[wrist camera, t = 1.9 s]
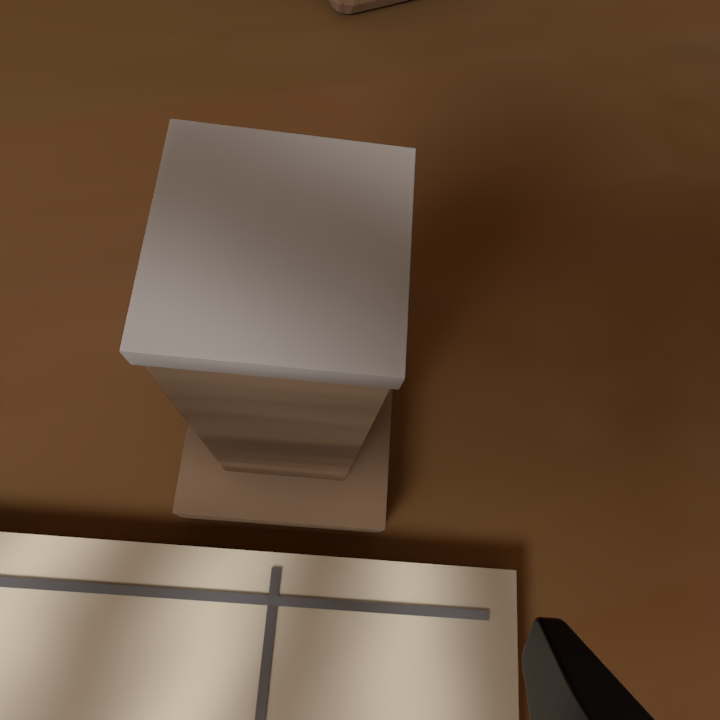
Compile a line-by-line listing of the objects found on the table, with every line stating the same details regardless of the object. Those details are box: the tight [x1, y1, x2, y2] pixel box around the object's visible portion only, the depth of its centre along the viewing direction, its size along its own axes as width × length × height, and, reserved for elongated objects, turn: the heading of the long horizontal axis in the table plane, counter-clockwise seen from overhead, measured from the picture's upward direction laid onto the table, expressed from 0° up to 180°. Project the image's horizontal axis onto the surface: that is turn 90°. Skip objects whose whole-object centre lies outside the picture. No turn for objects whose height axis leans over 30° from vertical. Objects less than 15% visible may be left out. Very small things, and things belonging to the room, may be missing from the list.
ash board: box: [0, 532, 519, 720], centre depth 19 cm, size 26×8×1 cm, turn 86°
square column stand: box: [119, 119, 416, 533], centre depth 16 cm, size 7×7×14 cm
